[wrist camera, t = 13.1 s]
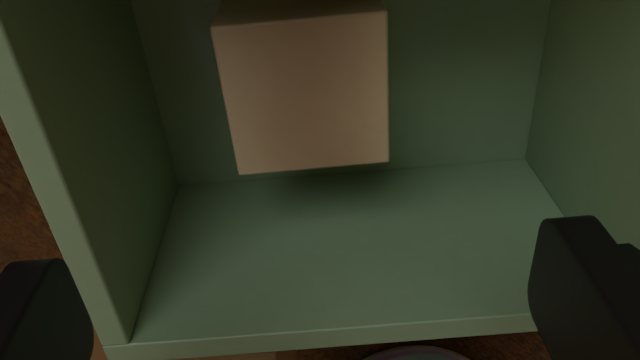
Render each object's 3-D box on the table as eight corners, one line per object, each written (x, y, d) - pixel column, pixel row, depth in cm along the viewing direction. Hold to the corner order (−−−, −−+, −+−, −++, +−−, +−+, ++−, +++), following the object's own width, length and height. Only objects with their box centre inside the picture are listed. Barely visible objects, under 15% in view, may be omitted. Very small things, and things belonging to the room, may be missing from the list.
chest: (167, 191, 23) (109, 365, 16) (72, -155, 16) (-112, -132, 9) (534, 163, 23) (645, 324, 16) (598, -198, 16) (853, -211, 9)
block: (248, 108, 20) (238, 177, 16) (227, -19, 18) (208, 27, 14) (371, 97, 20) (390, 163, 16) (368, -32, 18) (388, 10, 14)
